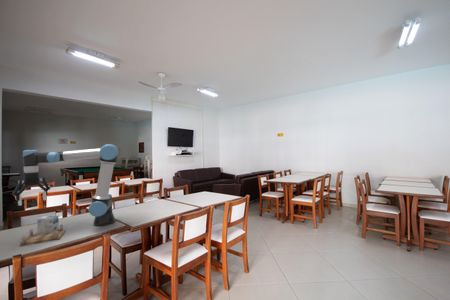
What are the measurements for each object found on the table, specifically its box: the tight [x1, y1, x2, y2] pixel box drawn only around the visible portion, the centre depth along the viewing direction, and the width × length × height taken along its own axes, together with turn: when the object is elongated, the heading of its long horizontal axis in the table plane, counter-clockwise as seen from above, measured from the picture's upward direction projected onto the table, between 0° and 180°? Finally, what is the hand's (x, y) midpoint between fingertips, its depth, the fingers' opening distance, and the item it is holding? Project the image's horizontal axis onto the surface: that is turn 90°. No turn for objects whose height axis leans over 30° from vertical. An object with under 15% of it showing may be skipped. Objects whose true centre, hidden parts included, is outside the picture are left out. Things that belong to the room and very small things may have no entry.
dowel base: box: [19, 224, 66, 247], centre depth 140 cm, size 20×15×6 cm
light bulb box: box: [36, 214, 60, 234], centre depth 153 cm, size 11×7×11 cm, turn 100°
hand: (32, 202), depth 143 cm, fingers open, 13 cm apart
